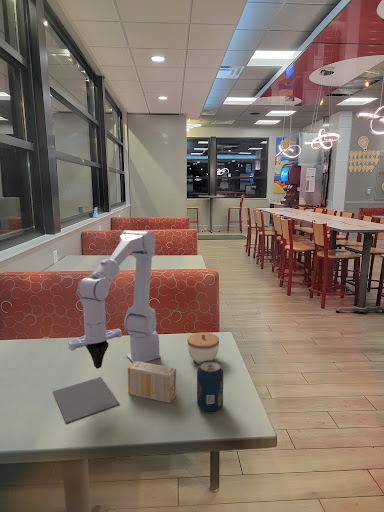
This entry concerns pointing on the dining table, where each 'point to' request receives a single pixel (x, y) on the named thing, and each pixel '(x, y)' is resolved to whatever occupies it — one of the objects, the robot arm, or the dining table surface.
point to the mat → (84, 399)
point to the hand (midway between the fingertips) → (97, 366)
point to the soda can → (210, 386)
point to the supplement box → (152, 381)
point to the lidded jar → (203, 346)
